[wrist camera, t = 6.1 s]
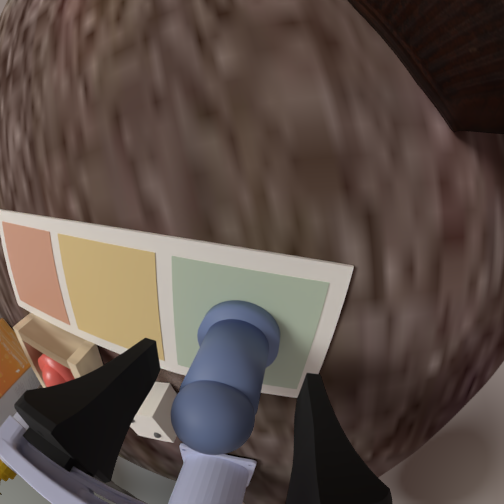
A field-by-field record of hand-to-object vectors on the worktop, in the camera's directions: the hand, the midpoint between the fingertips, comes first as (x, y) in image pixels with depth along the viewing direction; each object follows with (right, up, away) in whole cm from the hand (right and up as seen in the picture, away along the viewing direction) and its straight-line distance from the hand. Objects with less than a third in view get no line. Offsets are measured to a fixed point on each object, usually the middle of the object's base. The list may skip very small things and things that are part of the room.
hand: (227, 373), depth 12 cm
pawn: (+1, +1, +3) cm, 3 cm away
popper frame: (-16, -5, +9) cm, 19 cm away
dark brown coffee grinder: (+9, +17, -4) cm, 20 cm away
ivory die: (-6, -6, +7) cm, 11 cm away
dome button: (-16, -5, +8) cm, 19 cm away
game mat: (-8, +3, +4) cm, 10 cm away
